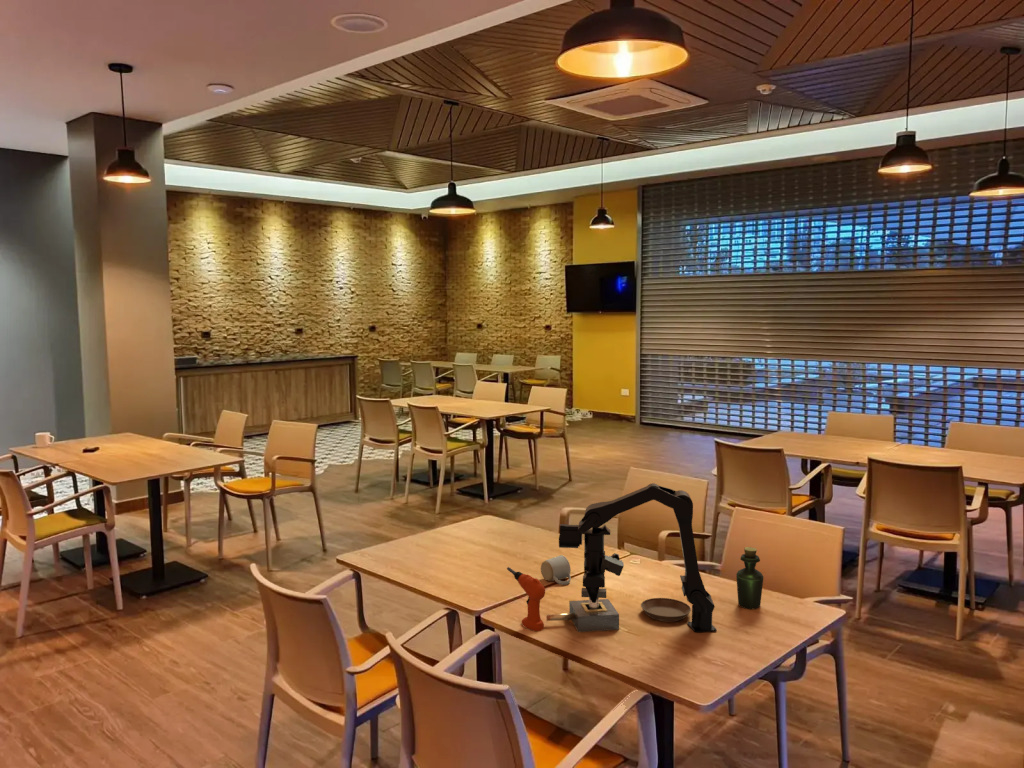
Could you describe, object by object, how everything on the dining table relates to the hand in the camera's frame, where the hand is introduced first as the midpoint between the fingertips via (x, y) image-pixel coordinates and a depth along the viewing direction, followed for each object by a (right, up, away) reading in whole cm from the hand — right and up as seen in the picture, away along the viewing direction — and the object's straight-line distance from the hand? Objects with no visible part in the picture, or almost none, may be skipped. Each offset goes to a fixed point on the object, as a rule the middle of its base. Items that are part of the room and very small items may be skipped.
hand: (594, 600), depth 216 cm
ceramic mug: (-8, -4, +36) cm, 38 cm away
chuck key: (0, -5, 0) cm, 5 cm away
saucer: (+22, -7, +7) cm, 24 cm away
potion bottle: (+50, -6, +13) cm, 52 cm away
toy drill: (-20, -7, +2) cm, 22 cm away
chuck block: (-4, -7, 0) cm, 8 cm away
